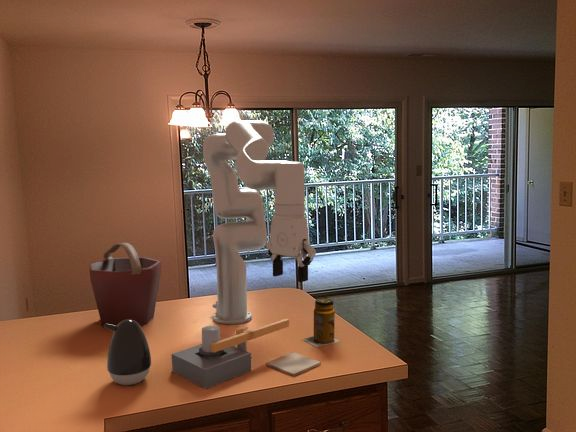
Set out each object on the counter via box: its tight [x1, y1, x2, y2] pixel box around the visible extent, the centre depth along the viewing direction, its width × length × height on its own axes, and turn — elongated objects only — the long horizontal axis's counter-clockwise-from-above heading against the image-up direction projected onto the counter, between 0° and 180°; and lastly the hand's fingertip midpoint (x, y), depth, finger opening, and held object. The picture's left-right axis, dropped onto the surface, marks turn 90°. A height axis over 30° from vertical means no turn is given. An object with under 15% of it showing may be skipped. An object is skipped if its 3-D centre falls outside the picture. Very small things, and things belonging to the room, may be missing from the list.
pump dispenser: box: [104, 319, 152, 386], centre depth 127 cm, size 10×10×15 cm
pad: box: [265, 351, 322, 377], centre depth 137 cm, size 10×10×1 cm
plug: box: [199, 325, 223, 360], centre depth 132 cm, size 6×6×11 cm
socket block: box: [171, 341, 252, 390], centre depth 134 cm, size 14×20×6 cm
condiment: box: [302, 297, 341, 348], centre depth 153 cm, size 7×8×12 cm
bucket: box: [88, 242, 162, 328], centre depth 172 cm, size 24×22×25 cm
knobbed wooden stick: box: [211, 318, 290, 353], centre depth 139 cm, size 5×26×2 cm, turn 136°
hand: (290, 278), depth 136 cm, fingers open, 8 cm apart
